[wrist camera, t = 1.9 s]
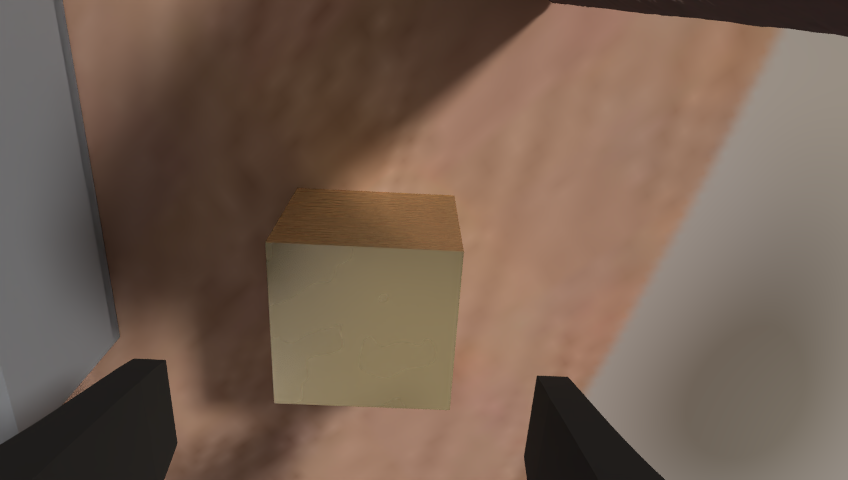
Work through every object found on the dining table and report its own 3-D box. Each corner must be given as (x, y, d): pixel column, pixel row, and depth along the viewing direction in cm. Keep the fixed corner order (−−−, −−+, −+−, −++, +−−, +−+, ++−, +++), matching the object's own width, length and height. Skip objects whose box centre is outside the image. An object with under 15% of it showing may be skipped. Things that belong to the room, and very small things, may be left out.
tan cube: (443, 327, 19) (449, 409, 15) (302, 321, 19) (274, 403, 15) (454, 194, 17) (463, 251, 14) (297, 186, 17) (265, 242, 13)
